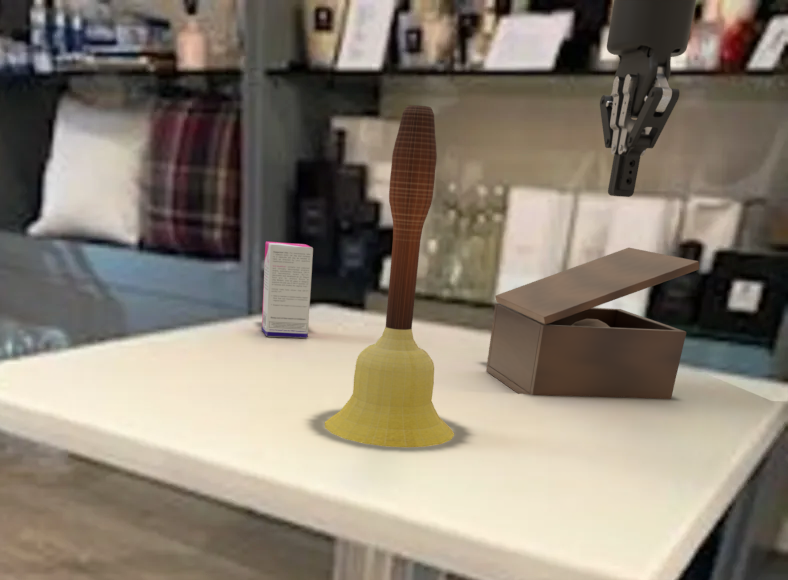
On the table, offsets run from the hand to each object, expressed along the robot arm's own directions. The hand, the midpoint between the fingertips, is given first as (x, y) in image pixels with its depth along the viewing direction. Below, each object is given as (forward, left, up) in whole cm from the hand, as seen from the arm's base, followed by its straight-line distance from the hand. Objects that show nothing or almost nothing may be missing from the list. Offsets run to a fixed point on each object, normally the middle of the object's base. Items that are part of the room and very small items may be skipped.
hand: (619, 195), depth 91 cm
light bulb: (0, 0, -19) cm, 19 cm away
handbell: (+27, +22, -20) cm, 41 cm away
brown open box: (+1, 0, -20) cm, 20 cm away
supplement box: (+31, -28, -20) cm, 47 cm away
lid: (+1, 0, -9) cm, 9 cm away
